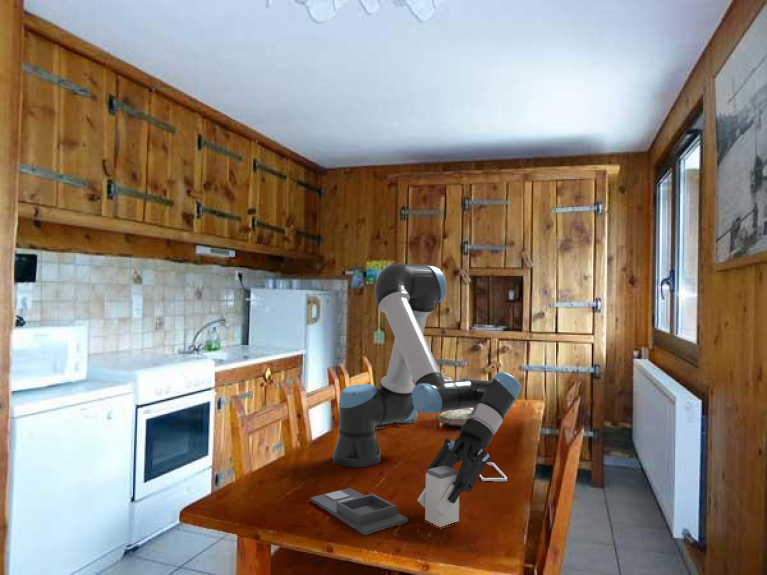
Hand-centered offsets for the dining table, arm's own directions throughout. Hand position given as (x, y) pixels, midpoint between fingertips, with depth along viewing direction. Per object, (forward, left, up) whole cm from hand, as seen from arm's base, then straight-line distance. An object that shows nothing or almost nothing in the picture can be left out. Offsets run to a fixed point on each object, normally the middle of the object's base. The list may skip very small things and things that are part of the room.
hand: (430, 508), depth 122 cm
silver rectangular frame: (-18, +39, -5) cm, 43 cm away
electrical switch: (-80, +44, -4) cm, 91 cm away
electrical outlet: (-88, +64, -4) cm, 109 cm away
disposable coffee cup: (-93, +91, -4) cm, 130 cm away
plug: (0, +4, -4) cm, 5 cm away
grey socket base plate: (-16, -9, -4) cm, 19 cm away
